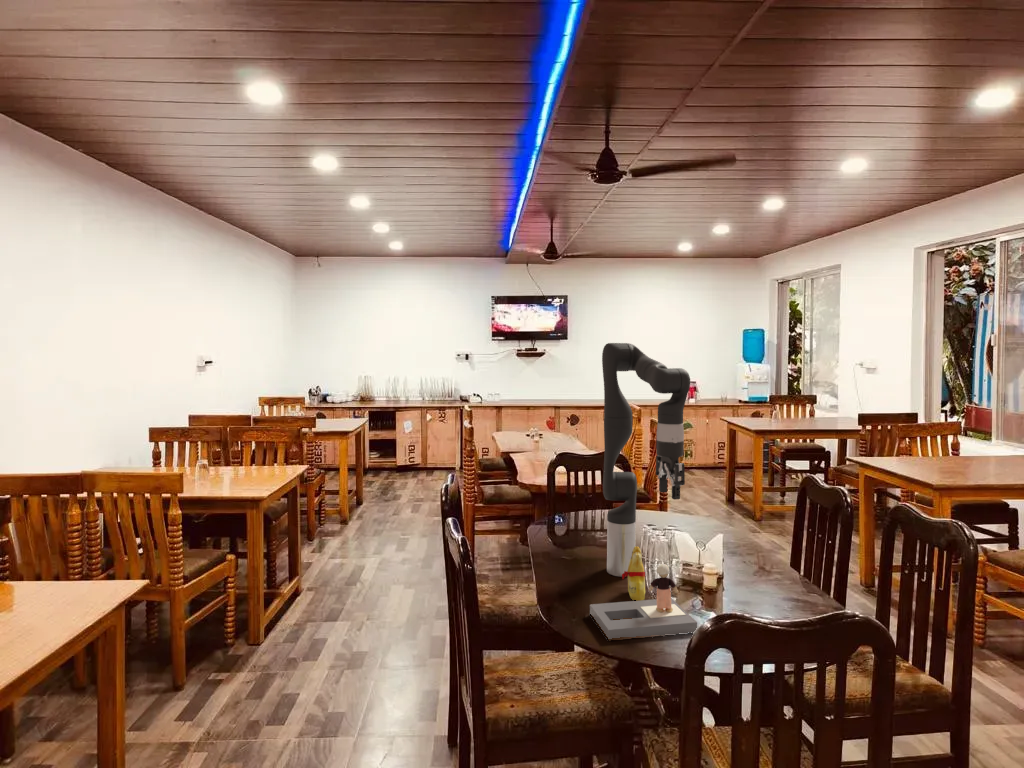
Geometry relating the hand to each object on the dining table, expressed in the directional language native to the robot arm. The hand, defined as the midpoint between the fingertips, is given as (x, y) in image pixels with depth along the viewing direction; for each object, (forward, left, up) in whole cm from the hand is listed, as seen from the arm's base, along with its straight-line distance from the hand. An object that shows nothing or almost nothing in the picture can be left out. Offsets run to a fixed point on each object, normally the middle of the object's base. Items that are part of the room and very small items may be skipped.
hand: (669, 495), depth 182 cm
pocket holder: (+10, -12, -32) cm, 36 cm away
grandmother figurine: (+10, -6, -29) cm, 31 cm away
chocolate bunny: (-9, -7, -32) cm, 34 cm away
